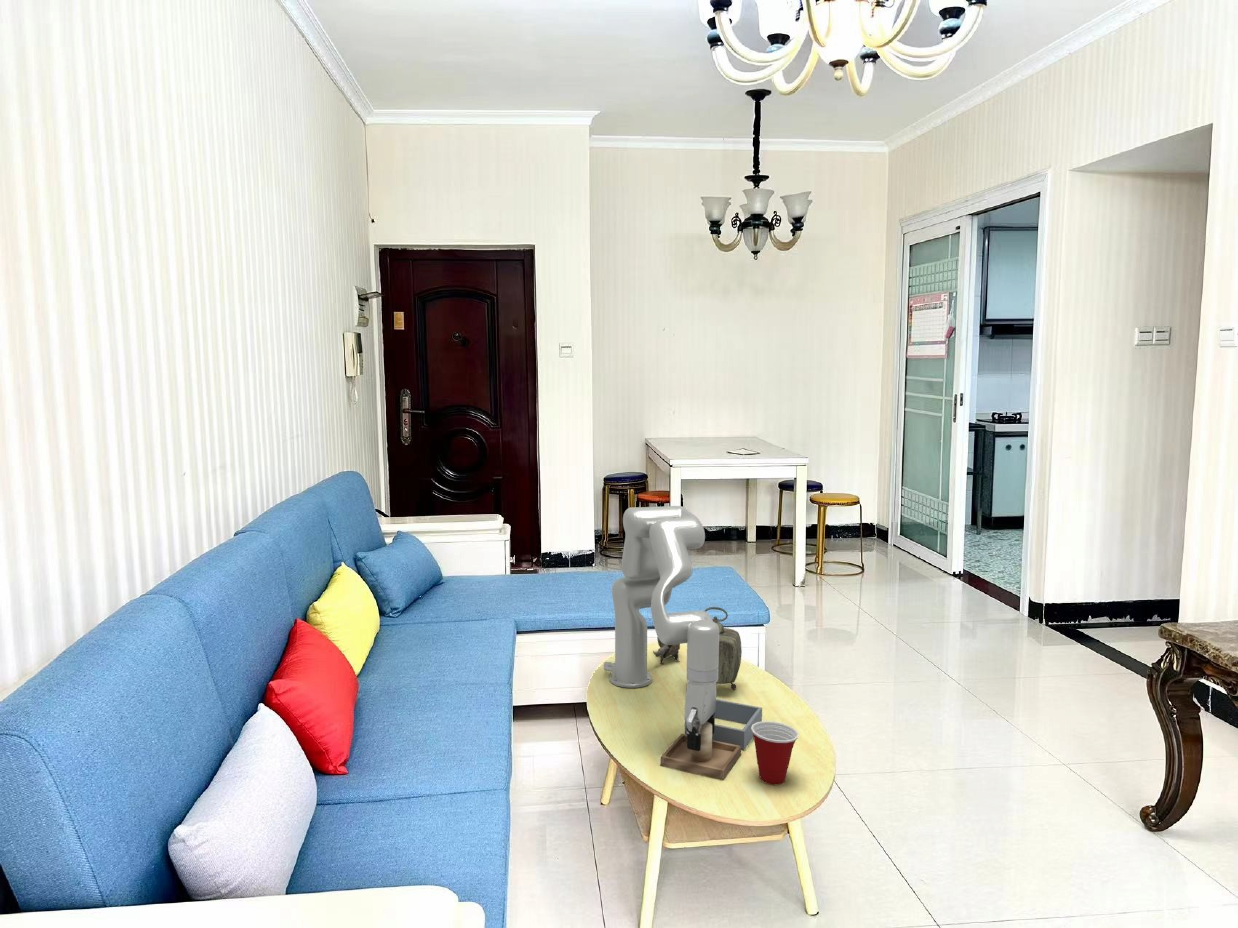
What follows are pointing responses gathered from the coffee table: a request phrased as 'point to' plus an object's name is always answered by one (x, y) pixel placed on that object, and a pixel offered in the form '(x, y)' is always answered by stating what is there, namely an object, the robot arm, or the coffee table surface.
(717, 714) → the grey square frame
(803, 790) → the coffee table surface
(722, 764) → the tray
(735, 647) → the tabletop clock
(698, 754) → the beige grooved cylinder
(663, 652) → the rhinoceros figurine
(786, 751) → the plastic cup
